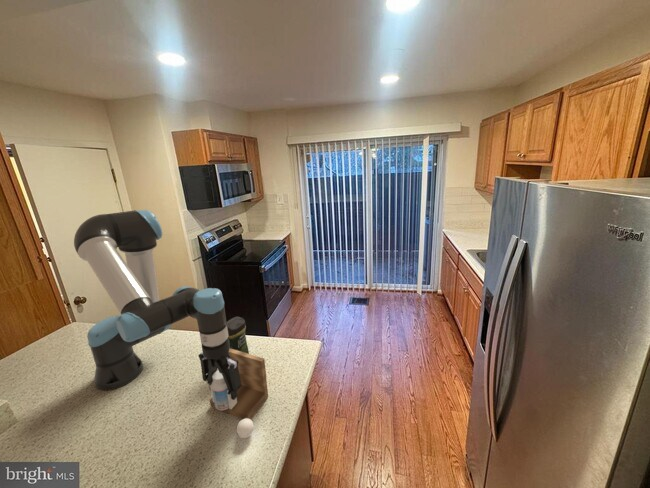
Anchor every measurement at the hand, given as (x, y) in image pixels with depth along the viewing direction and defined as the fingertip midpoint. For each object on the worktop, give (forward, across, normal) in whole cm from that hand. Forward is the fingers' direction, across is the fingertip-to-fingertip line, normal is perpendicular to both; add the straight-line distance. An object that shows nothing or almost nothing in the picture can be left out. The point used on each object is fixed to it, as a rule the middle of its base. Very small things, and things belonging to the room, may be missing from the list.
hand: (225, 402), depth 83 cm
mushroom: (+6, +10, -3) cm, 12 cm away
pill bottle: (0, 0, 0) cm, 0 cm away
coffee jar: (+6, -15, +22) cm, 28 cm away
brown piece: (+6, 0, +6) cm, 8 cm away
